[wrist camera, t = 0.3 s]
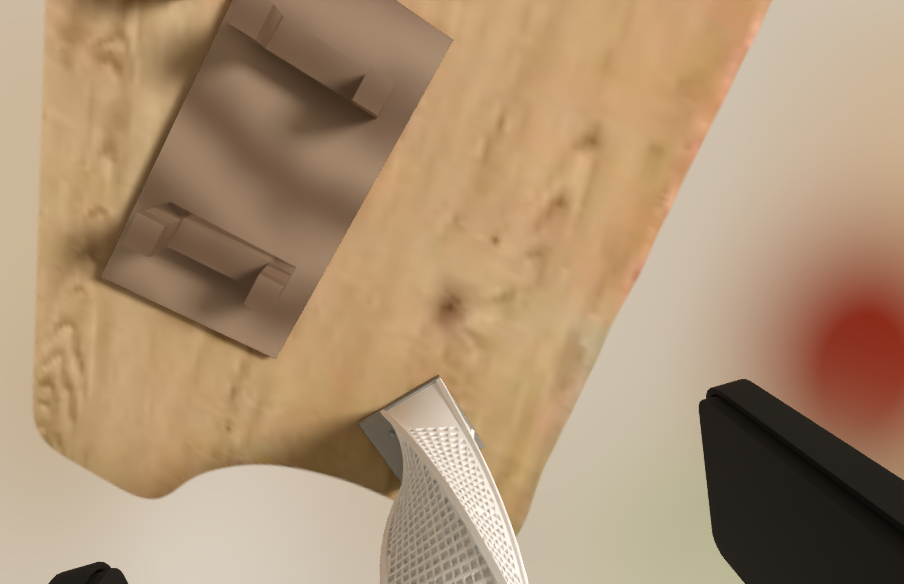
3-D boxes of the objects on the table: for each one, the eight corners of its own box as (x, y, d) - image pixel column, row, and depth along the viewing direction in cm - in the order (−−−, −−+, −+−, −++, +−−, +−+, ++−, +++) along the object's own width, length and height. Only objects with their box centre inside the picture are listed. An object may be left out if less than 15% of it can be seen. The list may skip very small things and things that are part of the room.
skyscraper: (348, 407, 40) (289, 938, 13) (442, 352, 40) (570, 780, 13) (407, 487, 43) (455, 1069, 16) (495, 436, 42) (694, 938, 16)
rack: (275, -78, 31) (253, -126, 26) (451, 42, 34) (465, 23, 29) (108, 273, 35) (56, 298, 30) (278, 353, 38) (260, 391, 33)
